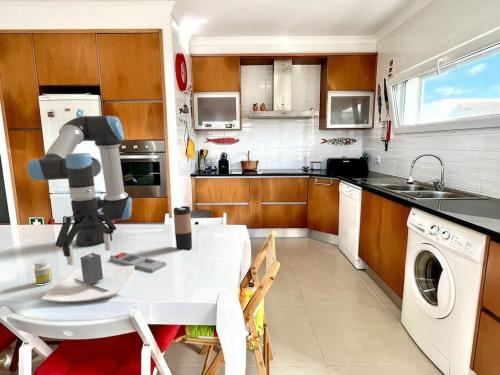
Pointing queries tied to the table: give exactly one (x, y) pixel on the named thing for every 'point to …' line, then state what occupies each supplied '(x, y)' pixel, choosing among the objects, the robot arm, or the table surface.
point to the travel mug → (183, 228)
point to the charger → (91, 268)
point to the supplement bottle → (42, 272)
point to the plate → (84, 287)
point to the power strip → (138, 262)
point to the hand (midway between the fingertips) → (90, 257)
